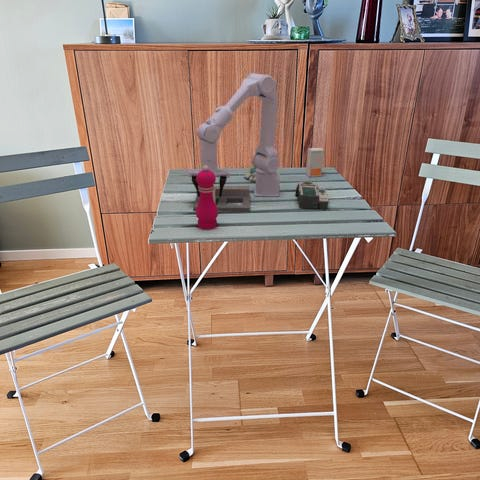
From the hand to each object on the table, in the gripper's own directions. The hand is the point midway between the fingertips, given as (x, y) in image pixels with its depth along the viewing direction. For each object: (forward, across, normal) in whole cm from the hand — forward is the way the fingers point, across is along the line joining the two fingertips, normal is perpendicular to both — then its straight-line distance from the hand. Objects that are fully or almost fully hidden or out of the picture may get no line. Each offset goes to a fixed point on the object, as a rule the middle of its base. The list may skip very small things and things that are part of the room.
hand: (209, 196), depth 146 cm
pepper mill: (+4, 0, -18) cm, 18 cm away
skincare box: (+4, +44, +37) cm, 57 cm away
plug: (+3, 0, 0) cm, 4 cm away
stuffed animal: (+4, +18, +32) cm, 36 cm away
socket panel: (+3, +5, +2) cm, 6 cm away
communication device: (+4, +38, +9) cm, 39 cm away
